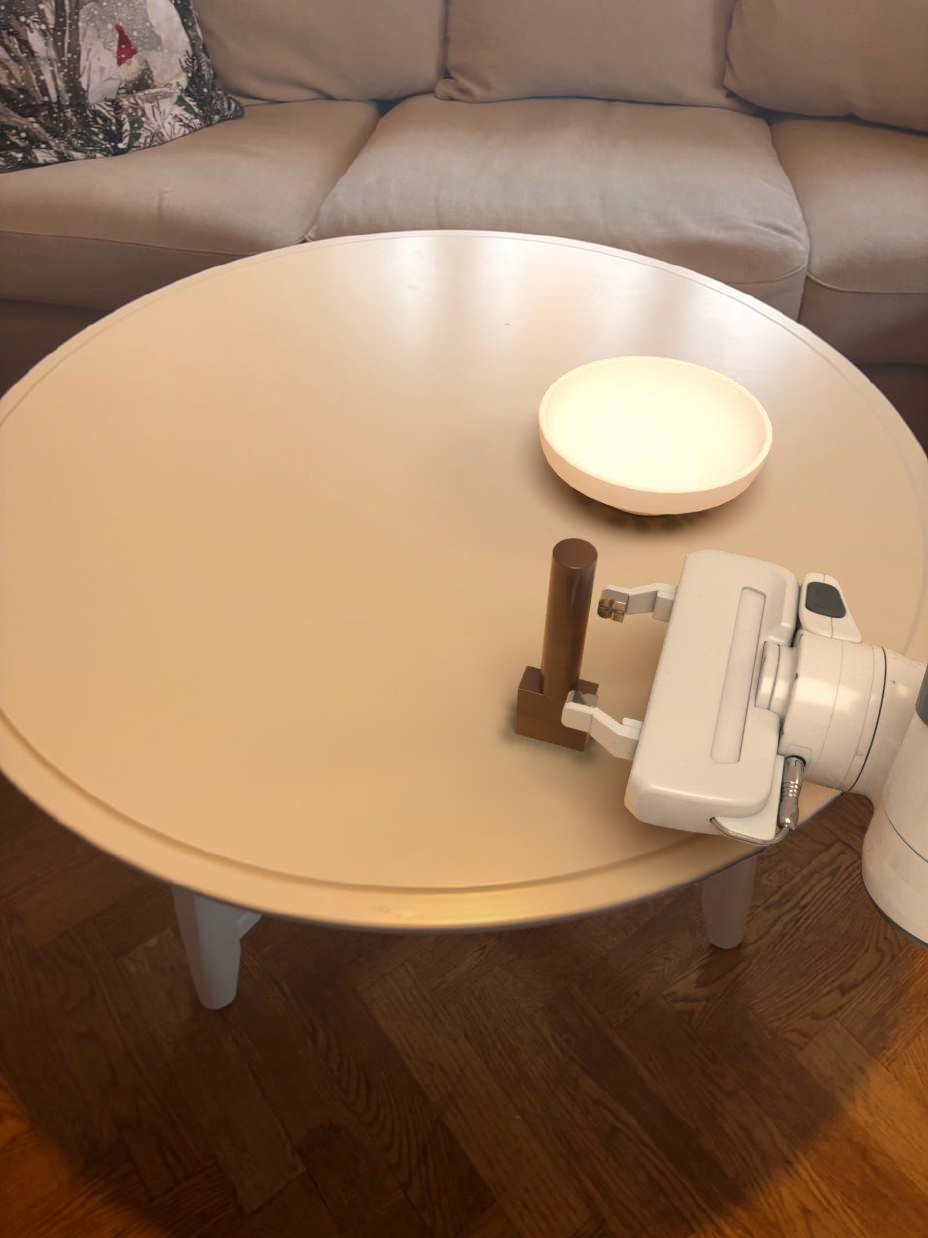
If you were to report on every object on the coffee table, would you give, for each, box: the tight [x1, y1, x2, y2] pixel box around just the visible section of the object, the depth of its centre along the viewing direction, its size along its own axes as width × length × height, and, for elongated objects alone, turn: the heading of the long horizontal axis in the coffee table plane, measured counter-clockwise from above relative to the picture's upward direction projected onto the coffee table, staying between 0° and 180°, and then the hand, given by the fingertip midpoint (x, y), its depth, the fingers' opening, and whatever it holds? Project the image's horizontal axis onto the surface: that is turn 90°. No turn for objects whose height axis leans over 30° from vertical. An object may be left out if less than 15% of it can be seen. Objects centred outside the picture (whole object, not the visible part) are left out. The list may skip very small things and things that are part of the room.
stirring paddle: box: [514, 537, 600, 753], centre depth 62 cm, size 5×3×17 cm, turn 71°
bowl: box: [537, 355, 773, 516], centre depth 84 cm, size 20×20×7 cm
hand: (583, 650), depth 61 cm, fingers open, 8 cm apart
